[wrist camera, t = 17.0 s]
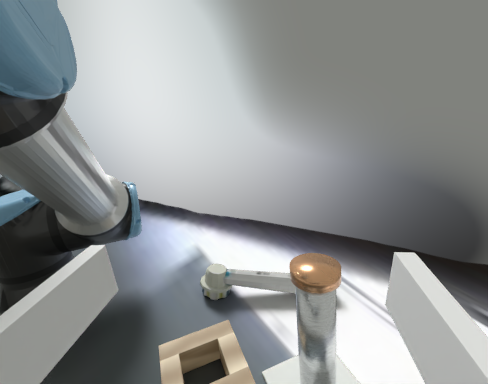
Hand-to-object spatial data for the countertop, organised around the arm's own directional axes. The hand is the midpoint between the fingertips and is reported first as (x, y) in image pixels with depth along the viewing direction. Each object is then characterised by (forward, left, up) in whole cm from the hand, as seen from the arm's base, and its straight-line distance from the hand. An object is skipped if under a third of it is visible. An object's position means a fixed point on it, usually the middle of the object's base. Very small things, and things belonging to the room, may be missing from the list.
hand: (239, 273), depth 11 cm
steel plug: (-8, +12, -28) cm, 31 cm away
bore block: (-15, -1, -29) cm, 32 cm away
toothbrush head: (-28, +14, -29) cm, 42 cm away
